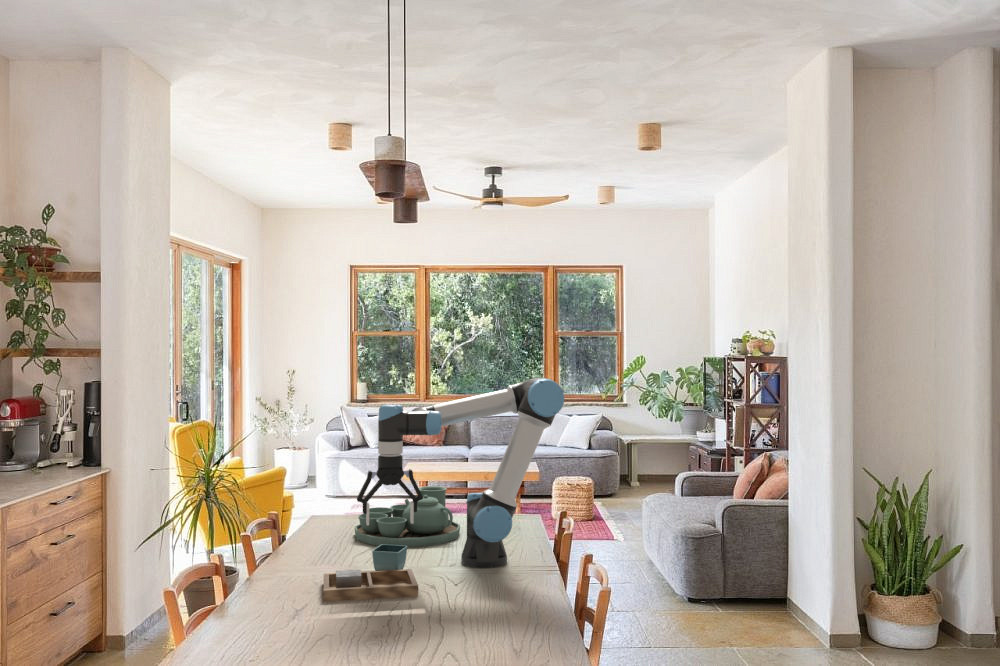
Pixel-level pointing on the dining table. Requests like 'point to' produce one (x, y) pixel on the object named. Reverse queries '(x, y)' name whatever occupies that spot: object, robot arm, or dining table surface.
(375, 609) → the dining table surface
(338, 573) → the grey metal block
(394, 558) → the flower pot
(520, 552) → the dining table surface
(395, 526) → the tea set
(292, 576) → the dining table surface
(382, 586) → the wooden divided tray
